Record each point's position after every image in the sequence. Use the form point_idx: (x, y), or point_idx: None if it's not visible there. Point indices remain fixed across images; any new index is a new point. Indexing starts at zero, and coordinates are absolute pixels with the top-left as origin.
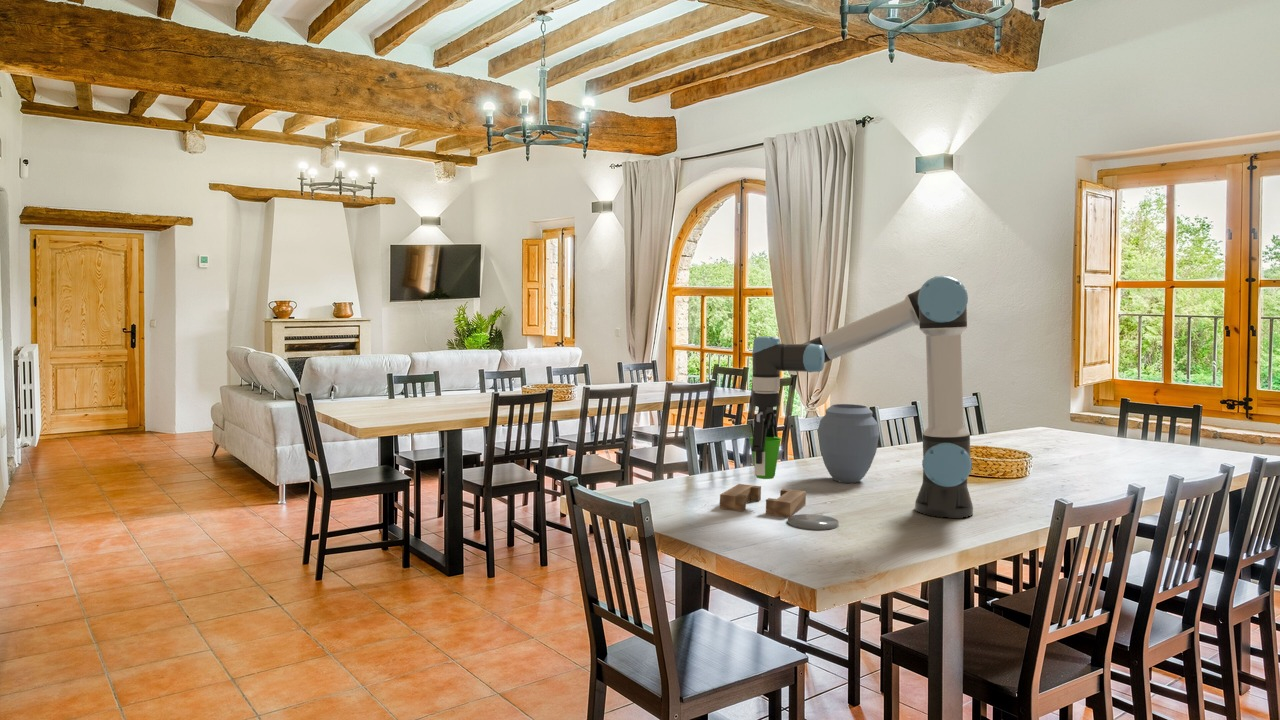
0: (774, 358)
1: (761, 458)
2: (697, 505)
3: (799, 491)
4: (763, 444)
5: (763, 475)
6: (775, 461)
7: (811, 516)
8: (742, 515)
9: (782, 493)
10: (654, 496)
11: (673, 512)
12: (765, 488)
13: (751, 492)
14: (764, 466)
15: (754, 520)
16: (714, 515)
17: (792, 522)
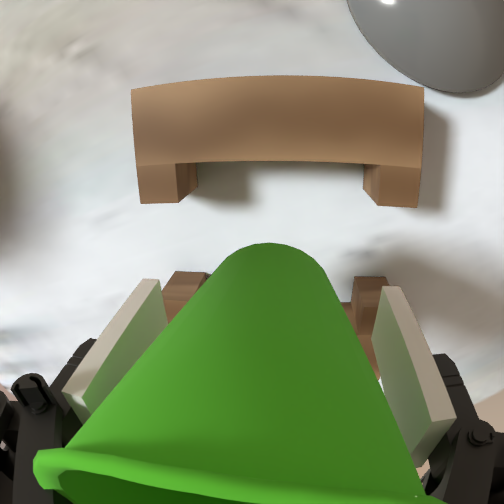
0: None
1: (446, 385)
2: None
3: (149, 113)
4: (486, 487)
5: (398, 291)
6: (291, 290)
7: (388, 8)
8: (434, 262)
9: (181, 188)
10: None
11: None
12: (42, 293)
13: None
14: (413, 324)
15: (482, 207)
16: (451, 330)
17: (499, 72)
